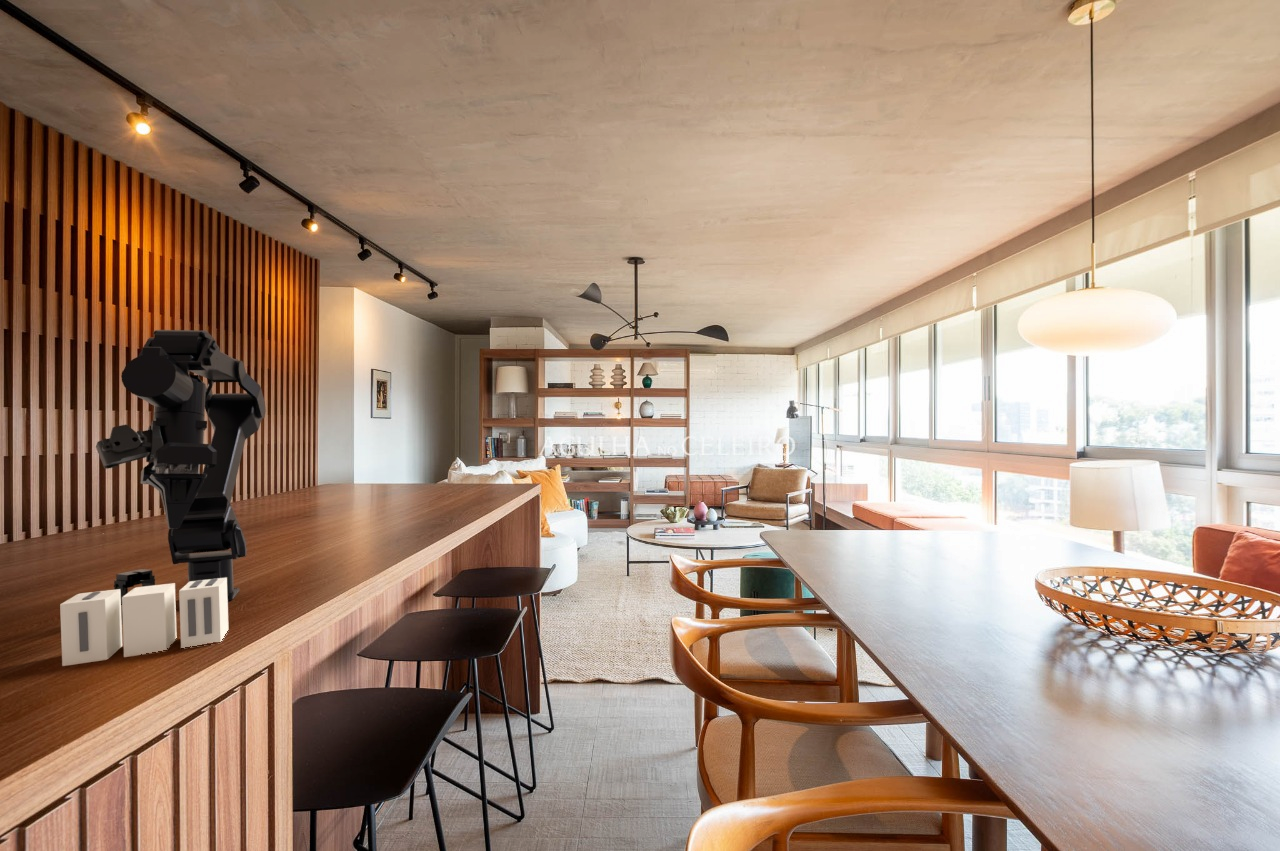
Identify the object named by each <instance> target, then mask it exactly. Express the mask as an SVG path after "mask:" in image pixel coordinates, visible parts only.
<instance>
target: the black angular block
mask: <svg viewBox="0 0 1280 851" xmlns="http://www.w3.org/2000/svg"><path fill="white" fill-rule="evenodd" d="M115 576H116V578H115V579H114V582H113V583H114V585H113V588H114V589H113V590H116V589H120V591H121V604H122V597H123V596H124V595H126V594H127V593H129V591H128V590H129V589H130V588H135V586H137V585H141V587H144V586H153V585H156V578H155V575H153V570H152V569H144V568H139V569H136V570H130V571H126V572H125V571H124V572H121V573H116V574H115Z"/></svg>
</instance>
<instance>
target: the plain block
mask: <svg viewBox="0 0 1280 851" xmlns="http://www.w3.org/2000/svg"><path fill="white" fill-rule="evenodd" d="M176 609H177V607H176V583H175V582H173V583H163V584H155V585H153V586H144V587H142V586H137V587H135V586H134V587H133V588H132V589H131V590H130V591H128V593H127V594H126V595H124V596H123V597H122V605H121V614H122V644H123V658H127V657H135V656H140V655H141V654H142V655H147V654H146V653H149V654H153V653H152V652H156V653H159V652H158V651H162V652H164V651H163V650H167V651H168V649H169V648H170V647H171V646H172V645H173V643H174V642H175V641H176V640H177V639H176V638H178V636H177V635H178V634H177V610H176ZM175 639H176V640H175ZM171 644H172V645H171ZM170 645H171V646H170ZM167 648H168V649H167Z"/></svg>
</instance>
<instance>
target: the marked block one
mask: <svg viewBox="0 0 1280 851" xmlns="http://www.w3.org/2000/svg"><path fill="white" fill-rule="evenodd" d="M59 606H60V607H59V608H60V610H59V611H60V612H59V613H60V634H61V635H60V637H61V642H60V643H61V666H62V667H65V666H73V665H78V664H87V663H91V662H93V663H94V662H99V661H106V660H109V659H110V658H111V657H112V656H113V655H114V654H115V653H116V652H118V650H120V649H121V648H122V647H123V618H122V605H121V591H120V589H116V590H114V589H107V590H99V591H90V592H82V593H77V594H75V595H73V596H71V597H70V598H68V599H67V600H65V601H64V602H62V603H60V605H59Z"/></svg>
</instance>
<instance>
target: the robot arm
mask: <svg viewBox="0 0 1280 851" xmlns="http://www.w3.org/2000/svg"><path fill="white" fill-rule="evenodd" d="M152 333H153V337H148V339H147V340H146V342H145V344H144V345H143V347H142V349H141V351H140V352H139V354H138V356H137V357H134V358H133V359H131V360H130V361H129V362H128V363H127V364H126V365H125V366H124V369H123V370H122V371H121V375H120V376H121V382H122V384H123V387H124V388H125V389H126V390H127V391H128V392H129V393H131V394H132V395H134V396H136V397H137V398H139V399H142V400H143V401H144V402H146V403H148V404H150V405H152V406H154V408H153V420H152V421H151V423H150V424H151V425H149V426H148V429H147V430H146V429H145V430H137V431H135V430H134V429H133V428H132V427H131V426H130V425H128V424H121V425H118V426H113V427H112V428H111V431H110V436H109V437H108V438H102V439H101V440H99V441H96V446H95V448H96V451H97V454H98V455H99V458H100V460H101V462H102V466H103V468H104V469H105V470H108V469H112V468H116V467H118V466H119V465H122V464H126V463H129V462H134V461H139V460H141V459H145V463H148V464H147V465H146V466H144V467H143V468H142V470H141V472H140V484H141V485H150V486H152V487H153V488H155V489H156V490H157V491H158V492H159V494H160V497H161V502H162V506H163V511H164V513H165V514H164V515H165V519H166V524H167V527H168V531H167V532H168V533H167V540H168V545H169V552H170V555H171V562H172V565H179V564H186V563H187V578H188V580H187V581H188V582H187V583H189V582H190V581H199V580H208V579H217V578H227V597H228V601H232V600H234V598H236V596H237V594H238V593H239V592H240V587H234V571H233V570H234V569H233V568H234V567H233V564H234V563H233V560H238V559H239V558H244V557H247V540H246V538H245V535H244V533H243V530H242V528H241V525H240V523H239V520H238V518H237V516H236V514H235V511H234V509H233V507H232V504H231V502H232V498H233V493H234V490H235V485H236V480H237V475H238V472H239V468H240V465H241V460H242V455H243V452H244V451H243V450H244V447H245V443H246V440H248V438H250V437H251V436H252V435H254V434H255V433H257V432H258V431H259V429H260V426H261V424H262V419H264V418H265V416H266V412H267V411H266V402H265V398H264V395H263V391H262V390H263V389H262V387H261V385H260V384H259V383H258V382H257V381H256V380H255V379H254V378H253V377H251V375H249V374H248V373H247V371H246V367H245V363H244V361H243V360H239V359H237V358H233V357H231V356H229V355H227V354H226V353H224V352H223V351H221V349H220V346H219V345H218V343H217V341H216V339H215V338H214V337H213V336H212V334H210V333H209V332H208V331H207V330H191V329H190V330H184V329H182V330H181V329H156V330H154V331H153V332H152ZM190 372H191V373H193V374H191V373H190ZM200 376H201V377H203V378H206V379H207V383H208V384H207V385H206V383H205V381H202V380H201V378H200ZM215 383H237V384H238V386H239V387H240V388H241V389H242V390H243V391H244V393H240V392H238V393H235V392H234V393H233V392H232V393H229V392H228V393H213V390H212V388H213V386H214V384H215ZM245 392H246V393H245ZM205 413H206V414H207V418H208V420H209V422H210V424H211V427H212V430H213V434H212V438H211V442H210V443H204V441H205V440H204V439H205V438H204V437H205V430H206V429H207V428H208V420H205V415H206V414H205ZM201 465H203V470H202V473H200V472H201V471H200V469H201V468H200V467H201ZM229 549H230V550H229Z"/></svg>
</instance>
